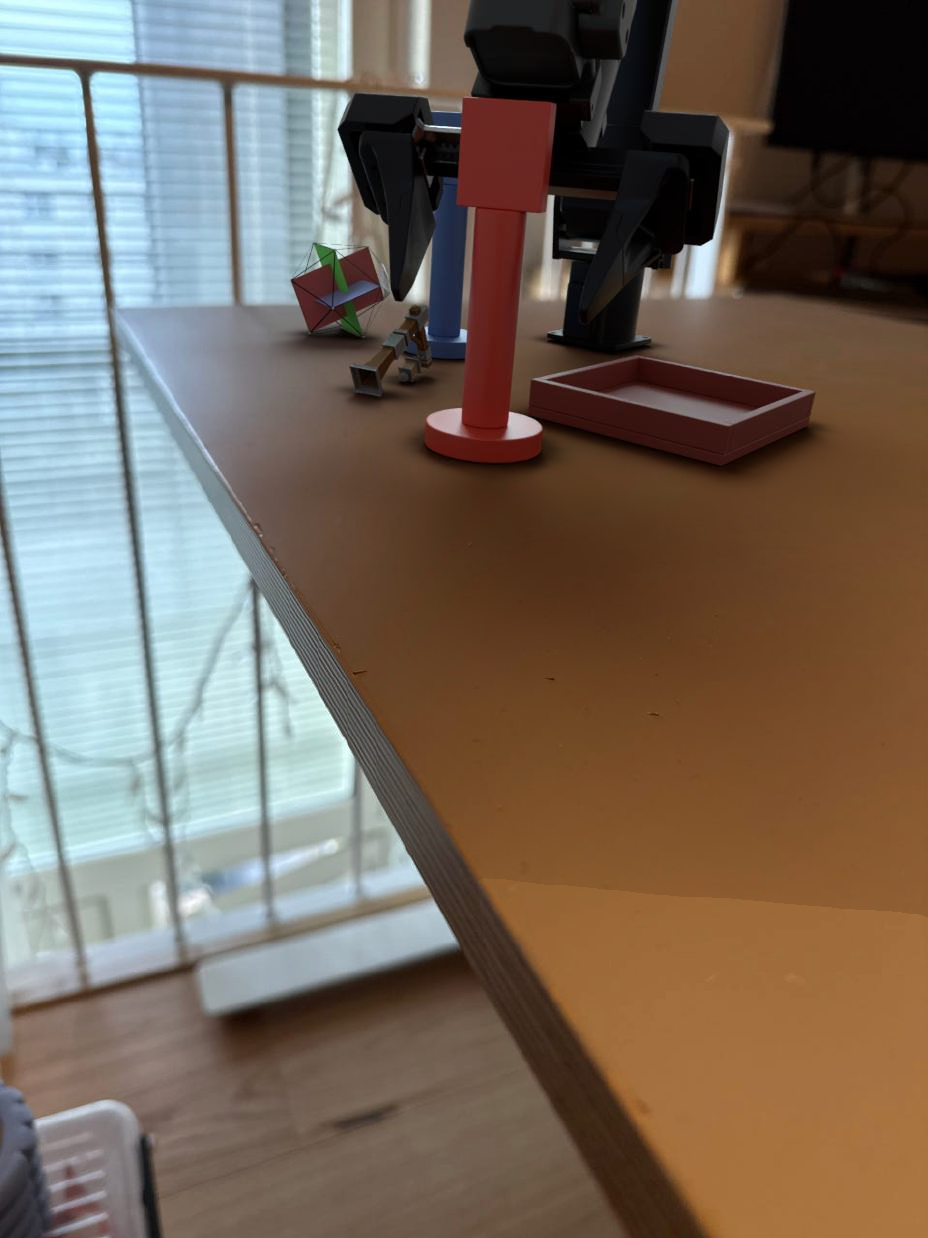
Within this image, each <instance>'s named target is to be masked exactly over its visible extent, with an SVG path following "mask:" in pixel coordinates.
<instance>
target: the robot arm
mask: <svg viewBox="0 0 928 1238" xmlns="http://www.w3.org/2000/svg"><path fill="white" fill-rule="evenodd" d="M678 6H679V0H469V6H468V11H467V16H466V21H465V27H464V32H463V38H462V39H463V42H464V45H465V47H466V48H468V49H469V51H470V53H471V55H472V58H473V61H474V63H475V66H476V68H477V74H476V76H475V79H474V83H473V85H472V89H471V91H470V97H478V98H494V99H510V100H526V101H543V102H552V103H555V104H556V105H557V106H556V116H555V126H554V136H553V147H552V157H551V167H550V177H549V187H548V196H554V197H553V208H552V243H551V244H552V245H551V246H552V248H551V250H552V251H551V253H552V254H551V259H552V260H557V261H560V260H562V259H563V260H571V261H570V269H569V278H568V283H567V285H566V286H567V287H566V295H565V305H564V313H563V322H562V329H555V330H549V331H547V332H546V339H550V340H555V341H560V342H564V343H570V344H574V345H579V346H583V347H589V348H594V349H599V350H604V351H609V352H617V351H621V350H622V351H623V350H626V349H631V348H636V347H640V346H645V345H650V344H652V339H653V338H652V337H651V336H647V335H642V334H636V333H637V328H638V327H637V326H638V322H639V321H638V320H639V314H640V306H641V300H642V299H641V298H642V294H643V293H642V292H643V286H644V278H645V272H646V269H651V270H653V271H654V270H655V271H659V270H670V269H671V268H672V263H673V256H674V255H678V254H680V253H681V252H682V251H683V250H684V247H685V246H695V247H702V246H703V245H706V244H707V243H708V242H710V241H713V240H714V236H715V231H716V228H717V223H718V219H719V216H720V215H719V214H720V210H721V203H722V198H723V191H724V182H725V172H726V165H727V157H728V147H729V140H730V133H731V131H730V129H729V128H728V126H727V125H726V123H725V122H724V121H723V119H722V117H721V116H720V115H719V114H706V113H695V112H694V113H692V112H676V111H660V110H659V109H660V105H661V99H662V93H663V88H664V82H665V76H666V70H667V66H668V60H669V55H670V50H671V49H670V48H671V45H672V38H673V33H674V28H675V22H676V16H677V11H678ZM431 111H432V110H431V106H430V101H429V98H428V97H424V96H418V95H403V94H390V93H389V94H388V93H387V94H386V93H374V92H373V93H372V92H354V94H353V95H352V96H351V98H350V100H349V101H348V102H347V104H346V106H345V109H344V111H343V113H342V116H341V118H340V121H339V123H338V127H337V129H336V131H337V133H338V136H339V138H340V141H341V144H342V147H343V151H344V152H345V156H346V158H347V161H348V164H349V167H350V169H351V173H352V175H353V178H354V181H355V184H356V187H357V189H358V193H359V195H360V198H361V200H362V204H363V207H365V208H366V209H367V210H369V211H370V212H372V213H373V214H375V215H376V216H380V219H381V221H382V222H383V223H384V224H385V225H387V231H388V233H387V235H388V261H389V286H390V287H389V288H390V293H391V294H392V297H393V299H394V300H393V301H394V302H398V303H403V302H404V301H405V299H406V297H407V295H409V293H410V291H411V289H412V287H413V286H414V283H415V281H416V279H417V276H418V274H419V271H420V269H421V266H422V264H423V261H424V259H425V256H426V253H427V251H428V248H429V246H430V244H431V242H432V236H433V233H434V231H435V228H436V222H435V218H434V214H433V211H435V210H437V209H438V206H439V203H440V201H441V198H442V195H443V181H444V177H448V178H458V171H459V154H460V137H461V128H456V127H441V126H434V122H433V118H432V114H431ZM573 242H584V243H594V244H598V246H597V248H593V247H592V248H591V247H581V246H573Z"/></svg>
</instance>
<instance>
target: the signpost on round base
mask: <svg viewBox="0 0 928 1238" xmlns="http://www.w3.org/2000/svg"><path fill="white" fill-rule="evenodd" d="M461 103H462V104H461V105H462V106H461V107H462V108H461V113H462V119H461V137H460V154H459V171H458V189H457V206H465V207H468V208H475V209H474V218H473V219H474V220H473V234H472V236H473V237H472V248H471V249H472V250H471V265H470V266H471V268H470V279H469V280H470V281H469V295H468V297H469V298H468V311H467V326H466V330H467V340H466V355H465V359H464V372H463V385H462V401H461V402H462V403H461V407H457V408H455V407H454V408H447V409H442V410H439V411H435V412H432V413H430V414H429V415H428V416H427V417H426V419H425V426H424V427H425V428H424V429H425V430H424V443H425V445H426V447H427V448H428V449H430V451H432V452H434V453H436V454H439V455H441V456H444V457H448V458H450V459H453V460H459V461H464V462H472V463H479V464H481V463H482V464H511V463H518V462H523V461H527V460H530V459H532V458H535V457H537V456H538V455H539V454H540V453H541V451H542V444H543V433H544V428H543V425H542V424H541V423H540V421H537V420H536V419H534V418H532V417H531V416H527V415H524V414H522V413H521V414H520V413H517V412H513V411H510V407H511V397H512V396H511V395H512V384H513V373H514V364H515V354H516V353H515V351H516V341H517V331H518V330H517V329H518V317H519V309H520V308H519V307H520V297H521V285H522V274H523V262H524V253H525V241H526V240H525V239H526V229H527V227H526V226H527V217H528V213H529V214H530V213H531V214H544V213H546V212H547V206H548V197H549V195H548V187H549V177H550V167H551V157H552V147H553V136H554V126H555V116H556V106H557V105H556V104H555V103H552V102H543V101H526V100H510V99H494V98H478V97H472V96H463V97H462V102H461Z"/></svg>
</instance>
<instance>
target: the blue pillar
mask: <svg viewBox="0 0 928 1238" xmlns="http://www.w3.org/2000/svg"><path fill="white" fill-rule="evenodd" d="M431 114H432V118H433V122H434V126H441V127H456V128H461V119H462V112H457V111H439V110H431ZM457 189H458V178H448V177H444V181H443V195H442V198H441V201H440V203H439V206H438V209H437V210H435V211H433V214H434V218H435V222H436V228H435V231H434V233H433V236H432V239H431V252H430V253H431V254H430V274H429V276H430V278H429V296H428V298H429V300H428V308H429V313H428V314H429V319H430V320H429V321H427V326H425V331H426V336H427V342H428V346H430V349H431V354H432V355H431V356H430V357H431V359H439V360H440V359H441V360H465V355H466V340H467V329H463V328H461V327H462V310H463V298H464V297H463V295H464V282H465V281H464V280H465V279H464V278H465V267H466V266H465V265H466V264H465V263H466V251H467V250H466V248H467V235H468V233H467V232H468V216H469V214H468V213H469V207H465V206H457ZM414 336H415V335H414ZM410 343H411V344H410V345H409V347H406V349H407V350H405V351H404V352H407V353H409V354H411V355H415V356H417V353H416V349H417V345H416V343H414V342H413V341H412V340H411V339H410Z"/></svg>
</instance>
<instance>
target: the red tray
mask: <svg viewBox="0 0 928 1238" xmlns="http://www.w3.org/2000/svg"><path fill="white" fill-rule="evenodd" d="M816 394H817V392H816V391H814V390H809V389H804V388H800V387H795V386H791V385H785V384H780V383H775V382H770V381H766V380H761V379H755V378H752V377H746V376H741V375H736V374H731V373H726V372H721V371H717V370H712V369H707V368H703V367H698V366H692V365H687V364H682V363H679V362H674V361H668V360H664V359H658V358H654V357H650V356H649V357H648V356H643V355H640V354H635V355H630V356H626V357H622V358H618V359H614V360H609V361H605V362H600V363H596V364H591V365H588V366H587V365H586V366H583V367H578V368H574V369H571V370H565V371H561V372H557V373H553V374H549V375H545V376H540V377H535V378H532V379H530V386H529V397H528V407H527V415H528V417H533V418H536V419H541V420H545V421H549V422H552V423H555V424H559V425H564V426H568V427H570V428H575V429H577V430H578V429H579V430H583V431H586V432H590V433H594V434H598V435H601V436H605V437H609V438H612V439H617V440H621V441H625V442H627V443H628V442H629V443H631V444H635V445H639V446H644V447H648V448H651V449H655V450H659V451H662V452H666V453H669V454H674V455H677V456H681V457H685V458H689V459H692V460H696V461H700V462H704V463H707V464H711V465H714V466H715V465H716V466H719V467H722V466H724V465H726V464H728V463H731V462H733V461H735V460H738V459H739V458H742V457H744V456H746V455H749V454H751V453H753V452H754V451H757V450H759V449H761V448H763V447H766V446H768V445H770V444H772V443H774V442H776V441H778V440H781V439H783V438H785V437H787V436H790V435H791V434H794V433H796V432H798V431H800V430H802V429H804V428H806V427H808V426H809V423H810V419H811V418H810V417H811V415H812V410H813V406H814V401H815V398H816Z"/></svg>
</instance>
